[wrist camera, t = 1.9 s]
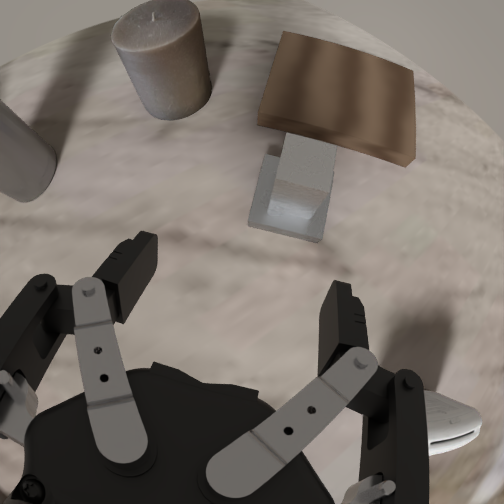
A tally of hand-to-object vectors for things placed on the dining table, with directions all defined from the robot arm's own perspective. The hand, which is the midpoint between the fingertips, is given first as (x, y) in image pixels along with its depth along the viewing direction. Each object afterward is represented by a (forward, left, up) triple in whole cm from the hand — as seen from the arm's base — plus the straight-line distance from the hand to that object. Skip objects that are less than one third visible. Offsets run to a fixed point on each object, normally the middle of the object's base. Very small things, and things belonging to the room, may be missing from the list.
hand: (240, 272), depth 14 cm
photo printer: (+22, -10, -21) cm, 32 cm away
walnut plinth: (+7, +28, -21) cm, 35 cm away
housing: (+3, +11, -21) cm, 24 cm away
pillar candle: (-15, +23, -21) cm, 35 cm away
